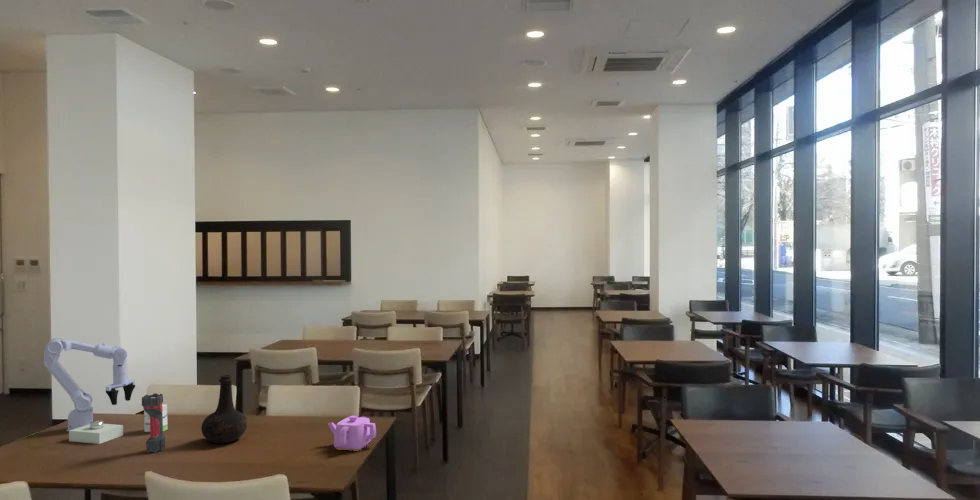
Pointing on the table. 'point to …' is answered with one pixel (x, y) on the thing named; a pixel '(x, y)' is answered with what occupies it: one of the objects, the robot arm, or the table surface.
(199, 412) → the table surface
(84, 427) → the pin block
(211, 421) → the glass bottle
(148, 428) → the ink box
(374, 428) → the teakettle
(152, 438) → the flashlight
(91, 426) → the steel pin
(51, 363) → the robot arm
